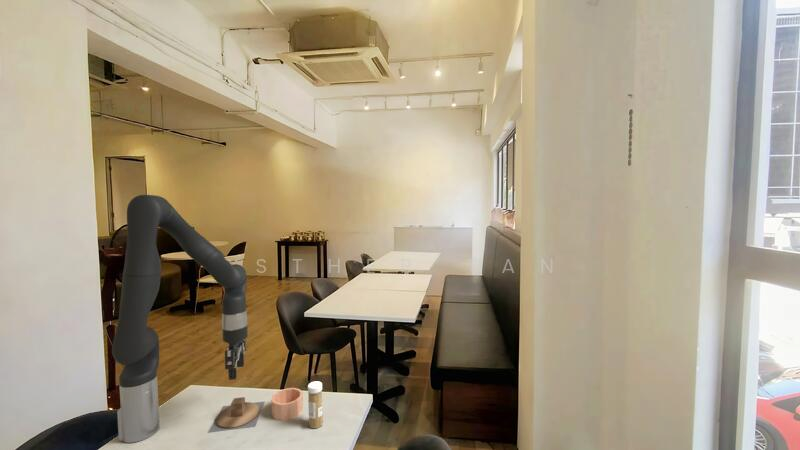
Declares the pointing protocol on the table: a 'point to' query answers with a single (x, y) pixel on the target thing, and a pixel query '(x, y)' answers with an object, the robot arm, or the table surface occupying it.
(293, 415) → the terracotta bowl
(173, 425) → the table surface
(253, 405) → the walnut lid
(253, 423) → the charcoal mat
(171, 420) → the table surface
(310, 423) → the sprinkles bottle
